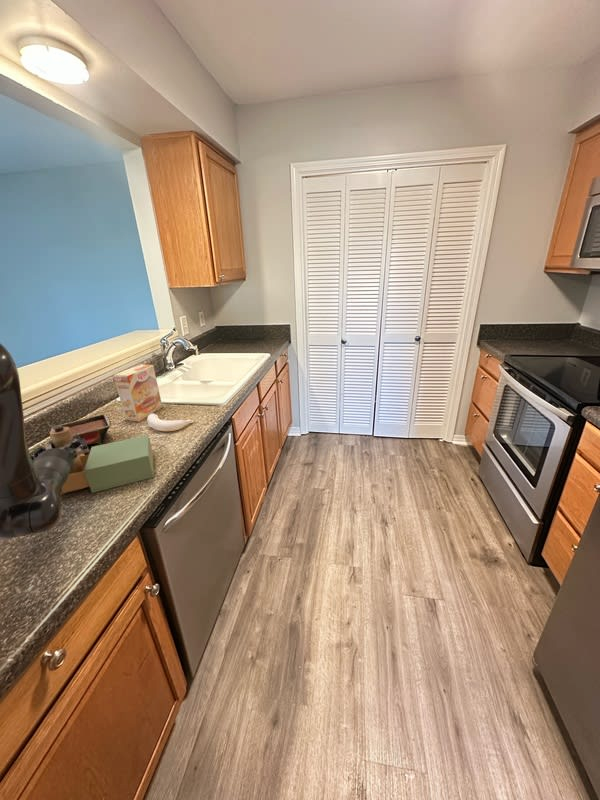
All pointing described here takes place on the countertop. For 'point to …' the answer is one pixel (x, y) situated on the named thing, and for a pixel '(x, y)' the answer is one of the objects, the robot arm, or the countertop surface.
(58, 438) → the pepper mill
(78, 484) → the drawer
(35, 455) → the robot arm
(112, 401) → the countertop surface
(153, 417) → the banana
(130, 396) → the coffeecake box
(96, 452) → the cabinet
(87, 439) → the baking dish
